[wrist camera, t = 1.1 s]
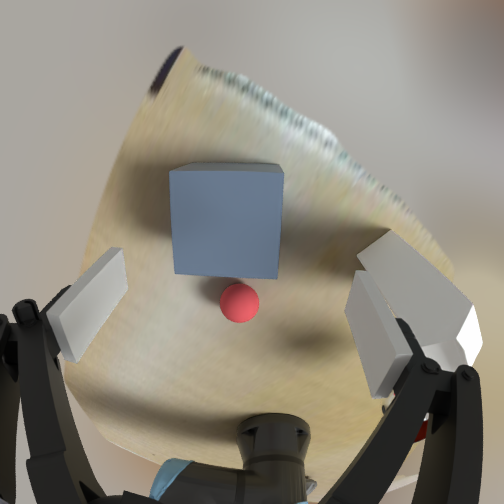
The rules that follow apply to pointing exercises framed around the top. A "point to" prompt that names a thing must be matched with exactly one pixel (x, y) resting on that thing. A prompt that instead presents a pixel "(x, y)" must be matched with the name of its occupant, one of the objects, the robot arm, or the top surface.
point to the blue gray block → (226, 219)
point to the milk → (424, 301)
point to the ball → (239, 303)
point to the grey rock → (310, 485)
